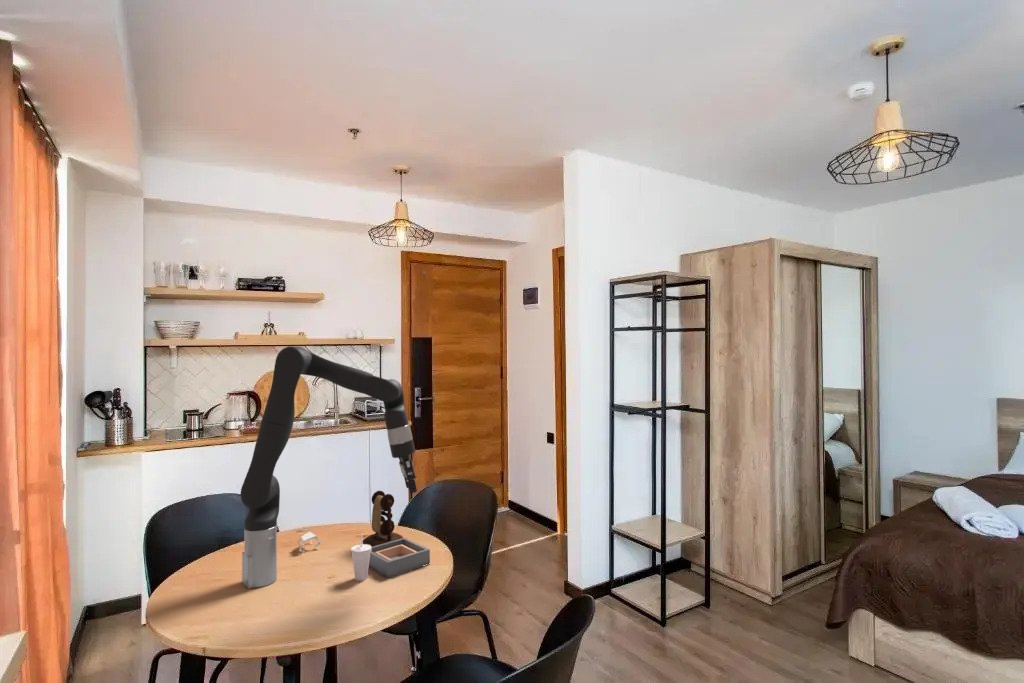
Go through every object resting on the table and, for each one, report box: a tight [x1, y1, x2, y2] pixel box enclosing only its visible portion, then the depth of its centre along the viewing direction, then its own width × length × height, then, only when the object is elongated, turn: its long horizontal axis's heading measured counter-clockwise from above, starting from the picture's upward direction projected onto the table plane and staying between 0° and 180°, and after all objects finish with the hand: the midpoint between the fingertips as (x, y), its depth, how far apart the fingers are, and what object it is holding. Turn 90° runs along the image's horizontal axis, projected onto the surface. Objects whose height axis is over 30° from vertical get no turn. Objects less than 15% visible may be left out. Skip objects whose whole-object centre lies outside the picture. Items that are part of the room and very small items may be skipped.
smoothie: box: [350, 532, 372, 582], centre depth 168 cm, size 6×6×14 cm
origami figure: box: [297, 531, 322, 555], centre depth 194 cm, size 12×8×5 cm
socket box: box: [368, 537, 431, 579], centre depth 179 cm, size 16×16×5 cm
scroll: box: [363, 490, 404, 547], centre depth 195 cm, size 15×15×20 cm
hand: (411, 489), depth 169 cm, fingers open, 8 cm apart
